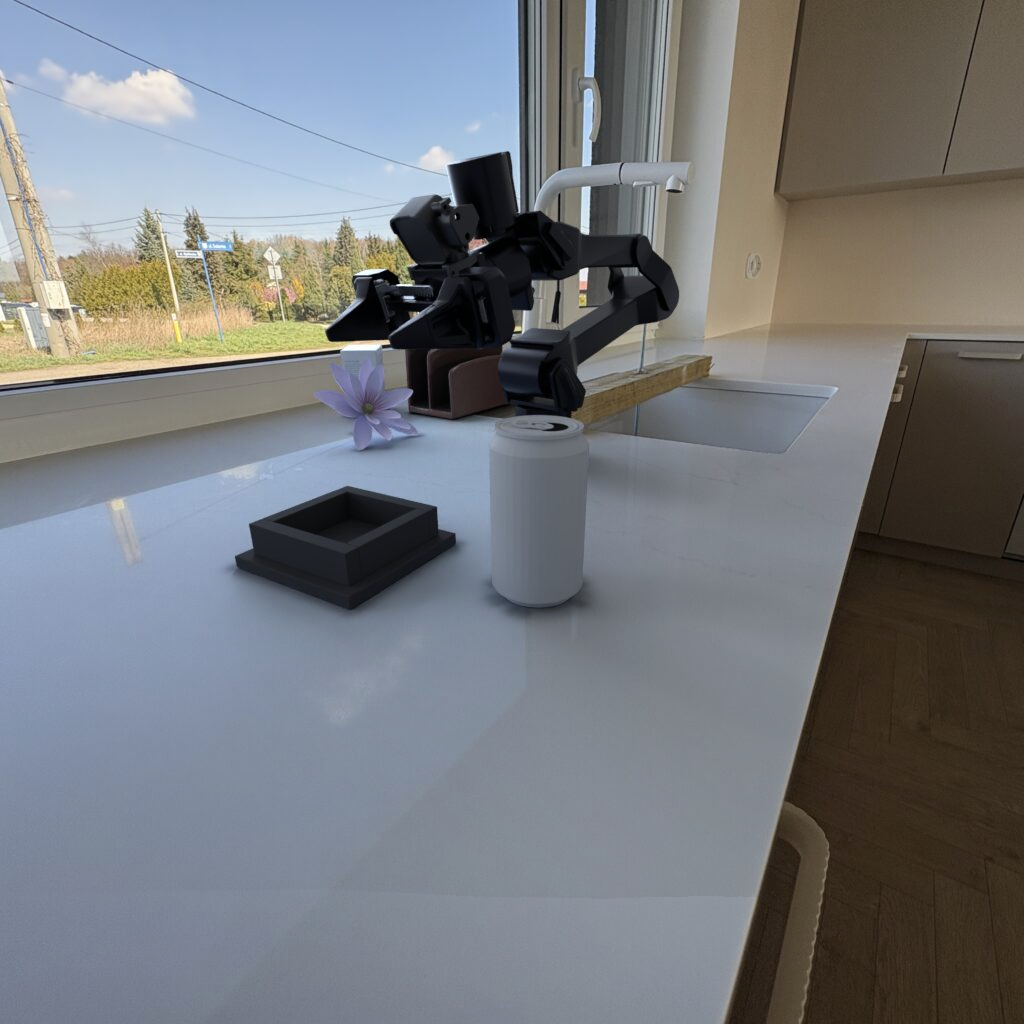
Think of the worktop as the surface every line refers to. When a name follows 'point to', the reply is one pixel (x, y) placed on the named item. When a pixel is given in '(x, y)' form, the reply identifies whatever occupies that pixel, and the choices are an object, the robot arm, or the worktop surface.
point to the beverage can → (538, 508)
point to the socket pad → (345, 544)
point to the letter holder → (453, 381)
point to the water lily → (367, 403)
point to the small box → (361, 359)
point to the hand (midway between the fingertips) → (357, 339)
